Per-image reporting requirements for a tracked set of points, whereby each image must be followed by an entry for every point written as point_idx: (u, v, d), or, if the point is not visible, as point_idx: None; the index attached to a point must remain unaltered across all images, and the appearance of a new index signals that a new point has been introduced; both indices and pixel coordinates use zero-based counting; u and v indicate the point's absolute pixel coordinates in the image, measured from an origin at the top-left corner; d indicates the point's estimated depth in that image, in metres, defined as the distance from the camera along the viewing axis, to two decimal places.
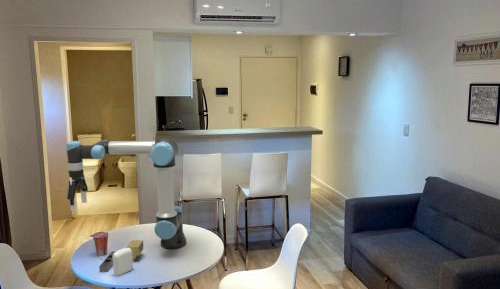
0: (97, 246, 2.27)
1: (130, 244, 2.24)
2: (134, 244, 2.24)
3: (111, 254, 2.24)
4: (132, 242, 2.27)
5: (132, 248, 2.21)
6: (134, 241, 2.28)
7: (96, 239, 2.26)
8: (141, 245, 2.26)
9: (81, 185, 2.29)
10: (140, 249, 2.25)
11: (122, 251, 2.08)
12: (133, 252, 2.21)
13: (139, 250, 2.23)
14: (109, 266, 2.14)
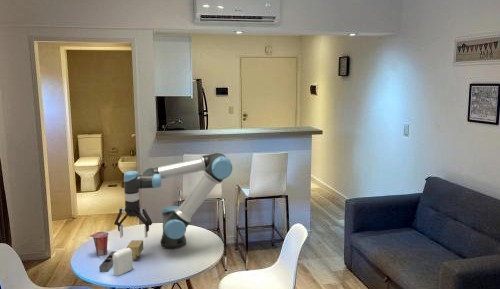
0: (97, 246, 2.27)
1: (130, 244, 2.24)
2: (134, 244, 2.24)
3: (111, 254, 2.24)
4: (132, 242, 2.27)
5: (132, 248, 2.21)
6: (134, 241, 2.28)
7: (96, 239, 2.26)
8: (141, 245, 2.26)
9: None
10: (140, 249, 2.25)
11: (122, 251, 2.08)
12: (133, 252, 2.21)
13: (139, 250, 2.23)
14: (109, 266, 2.14)
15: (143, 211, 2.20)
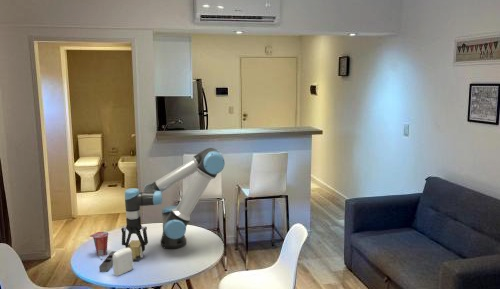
0: (97, 246, 2.27)
1: (130, 244, 2.24)
2: (134, 244, 2.24)
3: (111, 254, 2.24)
4: (132, 242, 2.27)
5: (132, 248, 2.21)
6: (134, 241, 2.28)
7: (96, 239, 2.26)
8: None
9: None
10: None
11: (122, 251, 2.08)
12: (133, 252, 2.21)
13: (139, 250, 2.23)
14: (109, 266, 2.14)
15: (144, 230, 2.22)
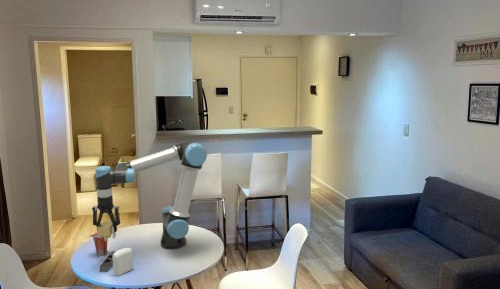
0: (97, 246, 2.27)
1: (102, 224, 2.15)
2: (106, 224, 2.15)
3: (111, 254, 2.24)
4: (104, 222, 2.17)
5: (103, 228, 2.11)
6: (106, 221, 2.19)
7: (96, 239, 2.26)
8: None
9: None
10: None
11: (122, 251, 2.08)
12: (104, 232, 2.12)
13: (111, 230, 2.14)
14: (109, 266, 2.14)
15: (116, 210, 2.13)
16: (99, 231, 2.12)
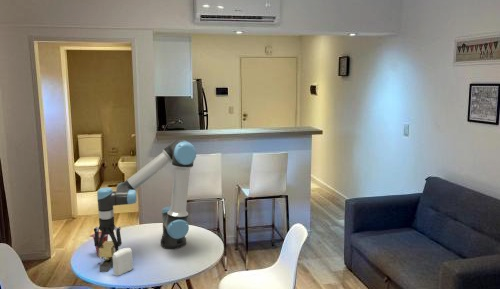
0: (97, 246, 2.27)
1: (103, 244, 2.17)
2: (108, 245, 2.17)
3: None
4: (105, 243, 2.19)
5: (105, 249, 2.13)
6: (108, 242, 2.21)
7: None
8: None
9: None
10: None
11: (122, 251, 2.08)
12: (106, 253, 2.14)
13: (112, 251, 2.16)
14: (109, 266, 2.14)
15: (117, 231, 2.15)
16: (101, 252, 2.14)
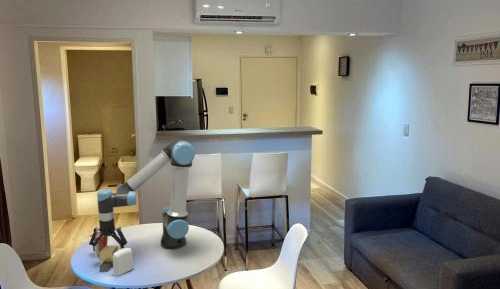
0: None
1: (104, 249, 2.18)
2: (108, 249, 2.17)
3: None
4: (106, 247, 2.20)
5: (105, 254, 2.14)
6: (108, 246, 2.21)
7: (96, 239, 2.26)
8: (115, 250, 2.19)
9: None
10: None
11: (122, 251, 2.08)
12: (106, 258, 2.14)
13: None
14: (109, 266, 2.14)
15: (118, 231, 2.15)
16: (101, 257, 2.14)
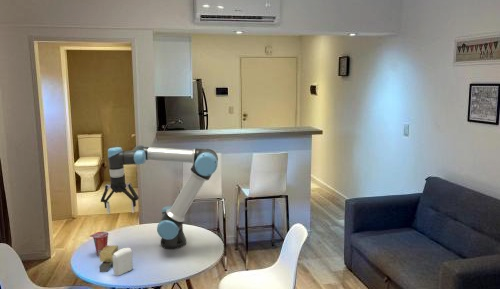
0: (97, 246, 2.27)
1: (104, 249, 2.18)
2: (108, 249, 2.17)
3: None
4: (106, 247, 2.20)
5: (105, 254, 2.14)
6: (108, 246, 2.21)
7: (96, 239, 2.26)
8: (115, 250, 2.19)
9: None
10: None
11: (122, 251, 2.08)
12: (106, 258, 2.14)
13: None
14: (109, 266, 2.14)
15: (129, 186, 2.22)
16: (101, 257, 2.14)
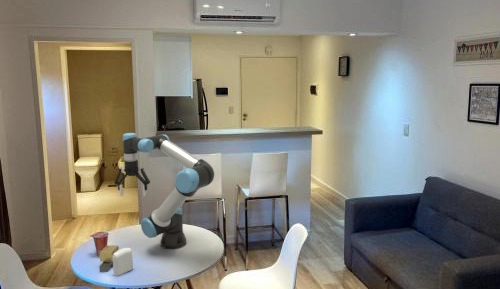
0: (97, 246, 2.27)
1: (104, 249, 2.18)
2: (108, 249, 2.17)
3: None
4: (106, 247, 2.20)
5: (105, 254, 2.14)
6: (108, 246, 2.21)
7: (96, 239, 2.26)
8: (115, 250, 2.19)
9: None
10: None
11: (122, 251, 2.08)
12: (106, 258, 2.14)
13: None
14: (109, 266, 2.14)
15: (141, 170, 2.34)
16: (101, 257, 2.14)
